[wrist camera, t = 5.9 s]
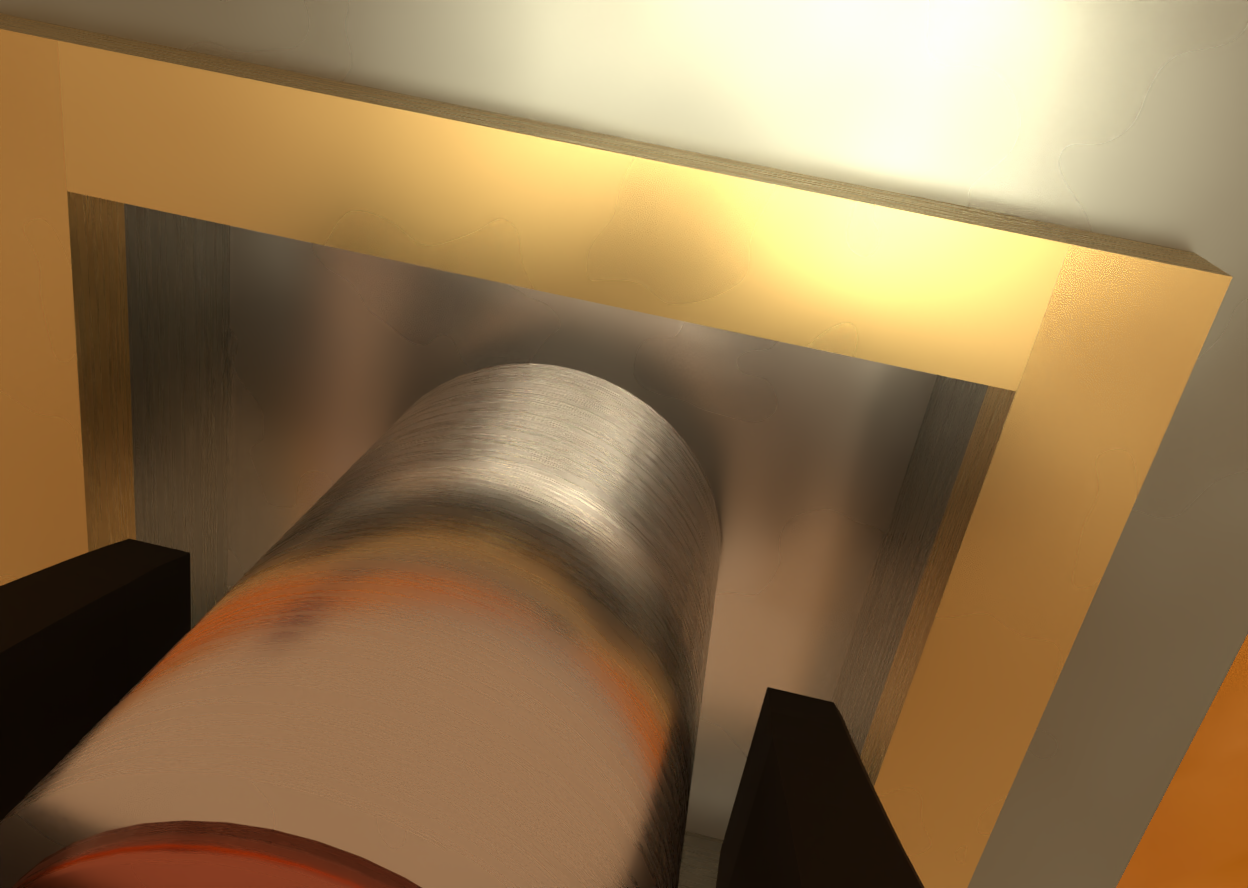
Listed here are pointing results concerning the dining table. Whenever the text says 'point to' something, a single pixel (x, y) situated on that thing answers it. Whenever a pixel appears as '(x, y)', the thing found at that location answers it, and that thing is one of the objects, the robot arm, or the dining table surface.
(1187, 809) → the dining table surface
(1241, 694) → the dining table surface
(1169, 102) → the metal base plate
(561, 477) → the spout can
